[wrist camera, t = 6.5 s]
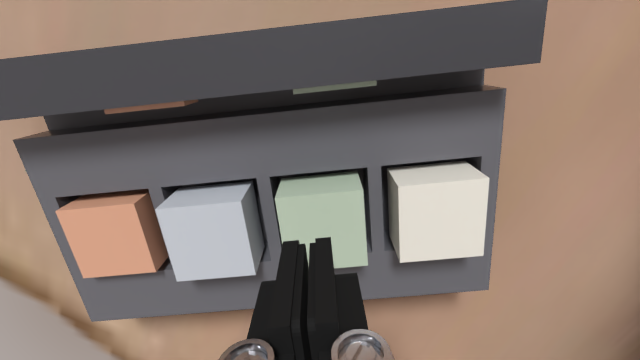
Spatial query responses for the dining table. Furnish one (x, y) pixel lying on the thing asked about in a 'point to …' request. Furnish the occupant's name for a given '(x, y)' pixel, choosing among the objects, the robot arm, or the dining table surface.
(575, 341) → the dining table surface
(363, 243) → the key sage
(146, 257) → the key terracotta
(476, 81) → the keypad
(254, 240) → the key slate
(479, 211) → the key cream
